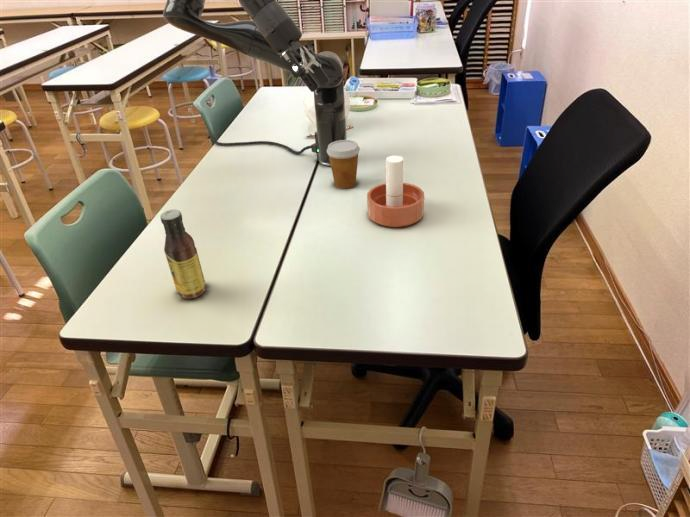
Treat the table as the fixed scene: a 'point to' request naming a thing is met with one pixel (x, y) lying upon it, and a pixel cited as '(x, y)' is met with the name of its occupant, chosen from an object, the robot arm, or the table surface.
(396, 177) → the tube
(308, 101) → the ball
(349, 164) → the disposable coffee cup
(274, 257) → the table surface
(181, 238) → the sauce bottle
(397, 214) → the bowl
